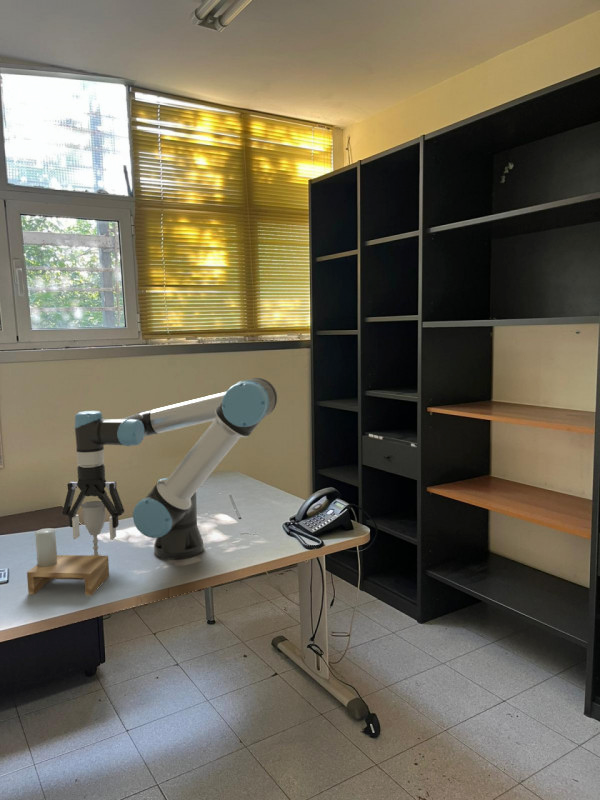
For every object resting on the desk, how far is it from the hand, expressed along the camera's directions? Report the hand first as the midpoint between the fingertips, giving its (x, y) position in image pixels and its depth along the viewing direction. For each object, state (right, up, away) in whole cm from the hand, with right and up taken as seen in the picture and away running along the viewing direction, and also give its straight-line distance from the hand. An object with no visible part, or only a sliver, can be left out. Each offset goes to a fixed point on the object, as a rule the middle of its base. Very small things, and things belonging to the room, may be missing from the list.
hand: (94, 537), depth 174 cm
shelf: (-2, -10, -14) cm, 17 cm away
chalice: (0, -8, +1) cm, 8 cm away
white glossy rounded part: (-8, -4, -14) cm, 17 cm away
